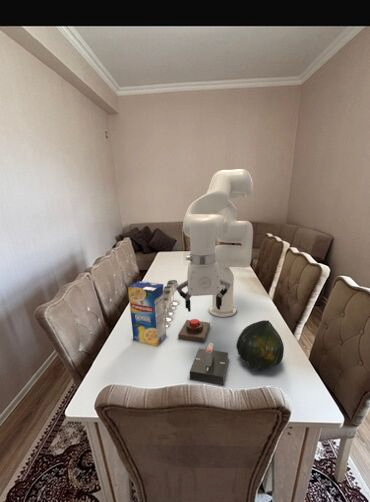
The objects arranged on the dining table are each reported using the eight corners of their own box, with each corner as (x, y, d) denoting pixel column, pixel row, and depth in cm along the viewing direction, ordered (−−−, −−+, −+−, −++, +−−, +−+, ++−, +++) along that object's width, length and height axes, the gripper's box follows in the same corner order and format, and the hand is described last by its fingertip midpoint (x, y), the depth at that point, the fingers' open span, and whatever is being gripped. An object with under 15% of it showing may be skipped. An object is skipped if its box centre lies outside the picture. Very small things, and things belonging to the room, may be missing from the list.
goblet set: (168, 328, 104) (167, 299, 100) (155, 328, 105) (153, 299, 101) (180, 301, 130) (179, 277, 126) (169, 301, 131) (167, 277, 127)
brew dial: (209, 356, 81) (209, 341, 79) (213, 356, 80) (214, 342, 79) (205, 365, 76) (205, 351, 75) (211, 366, 76) (211, 351, 74)
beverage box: (157, 346, 92) (153, 290, 86) (133, 340, 97) (127, 286, 90) (166, 336, 98) (163, 284, 91) (143, 331, 102) (138, 280, 96)
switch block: (186, 324, 107) (186, 315, 106) (209, 327, 104) (209, 318, 103) (178, 339, 96) (178, 330, 95) (203, 342, 93) (203, 333, 92)
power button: (191, 322, 101) (191, 318, 101) (200, 323, 100) (200, 319, 100) (189, 326, 98) (188, 322, 97) (198, 327, 97) (197, 323, 96)
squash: (228, 358, 75) (265, 326, 71) (228, 334, 90) (259, 306, 85) (262, 388, 76) (301, 359, 71) (257, 359, 90) (289, 333, 86)
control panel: (198, 355, 86) (198, 347, 85) (228, 360, 83) (228, 352, 82) (189, 379, 75) (189, 370, 74) (223, 385, 72) (223, 376, 71)
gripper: (175, 263, 72) (178, 316, 78) (234, 260, 74) (232, 312, 79) (174, 257, 79) (176, 305, 85) (227, 254, 81) (226, 302, 86)
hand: (203, 308), depth 82 cm, fingers open, 9 cm apart
